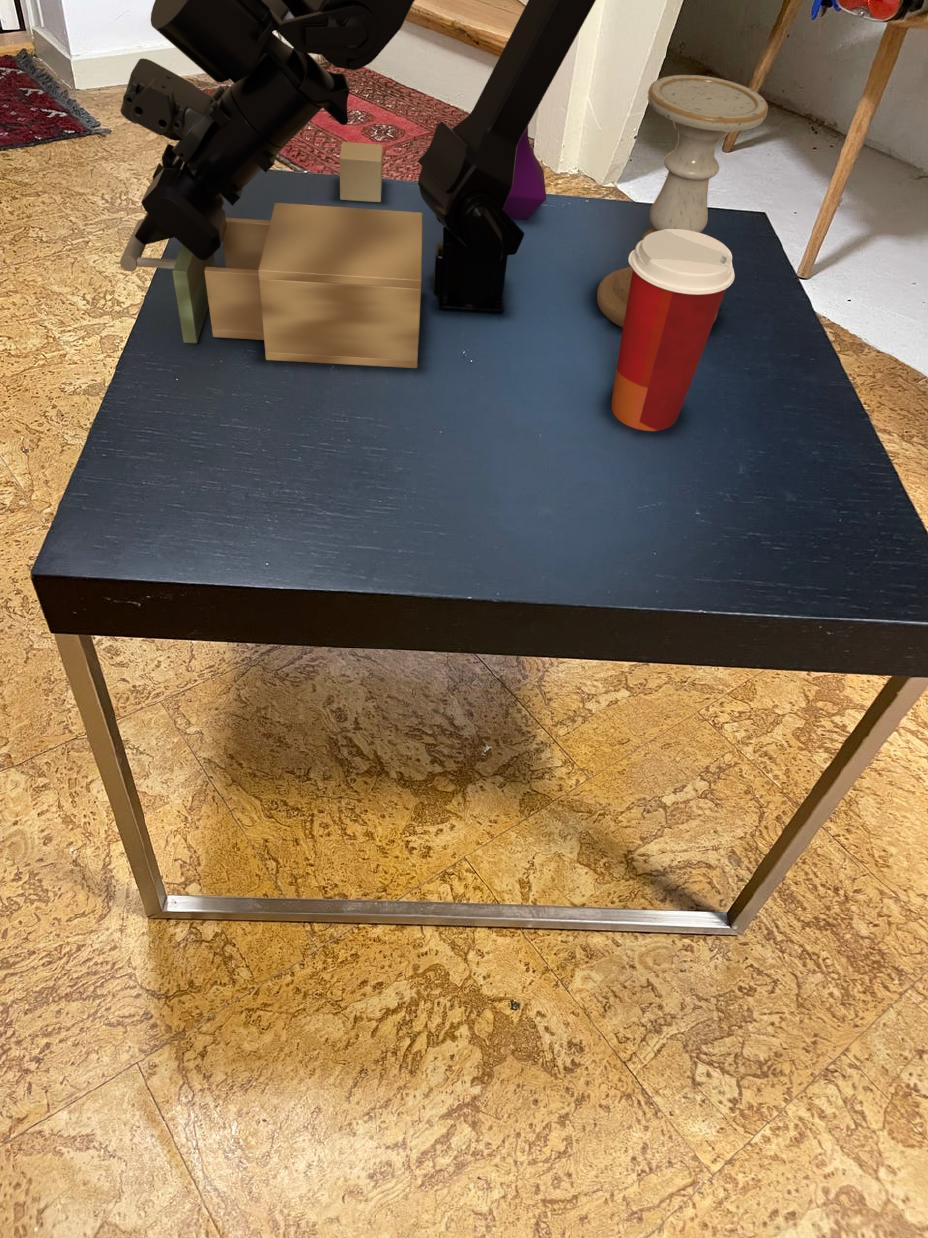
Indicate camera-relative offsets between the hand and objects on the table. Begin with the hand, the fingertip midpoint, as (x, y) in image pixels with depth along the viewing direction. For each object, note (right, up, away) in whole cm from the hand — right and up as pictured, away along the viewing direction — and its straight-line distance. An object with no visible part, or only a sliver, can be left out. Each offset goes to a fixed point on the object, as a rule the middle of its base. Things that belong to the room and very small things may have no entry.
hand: (139, 238), depth 83 cm
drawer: (+7, -5, +6) cm, 10 cm away
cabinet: (+17, -6, +7) cm, 19 cm away
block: (+17, +16, +26) cm, 35 cm away
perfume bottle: (+34, +14, +26) cm, 45 cm away
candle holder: (+48, -2, +14) cm, 50 cm away
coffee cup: (+44, -15, +2) cm, 47 cm away
